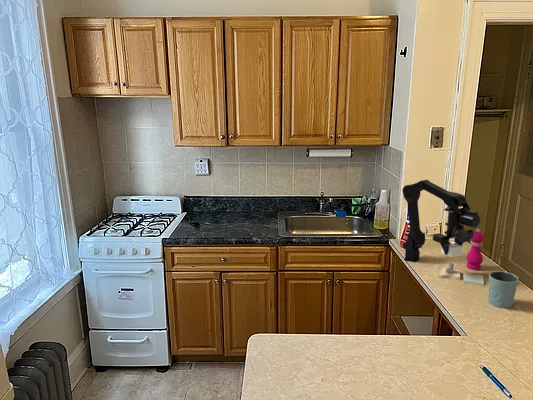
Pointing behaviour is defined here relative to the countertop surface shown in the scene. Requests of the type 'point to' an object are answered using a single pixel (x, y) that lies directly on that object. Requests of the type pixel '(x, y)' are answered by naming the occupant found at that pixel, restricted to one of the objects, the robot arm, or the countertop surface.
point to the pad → (473, 279)
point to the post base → (451, 275)
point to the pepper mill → (475, 251)
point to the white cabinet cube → (454, 250)
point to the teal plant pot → (502, 289)
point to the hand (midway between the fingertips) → (451, 253)
